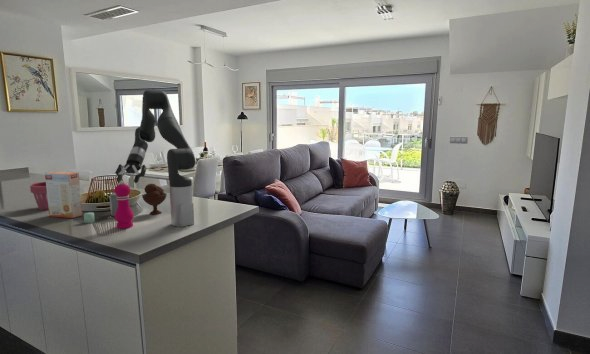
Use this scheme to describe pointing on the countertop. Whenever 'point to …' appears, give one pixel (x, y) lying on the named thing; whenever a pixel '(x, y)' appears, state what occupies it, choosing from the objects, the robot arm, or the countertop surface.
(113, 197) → the charcoal cup
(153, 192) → the ice cream bowl
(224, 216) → the countertop surface
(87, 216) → the mint green cube
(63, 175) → the cracker box
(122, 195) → the pepper mill
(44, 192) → the plant pot
